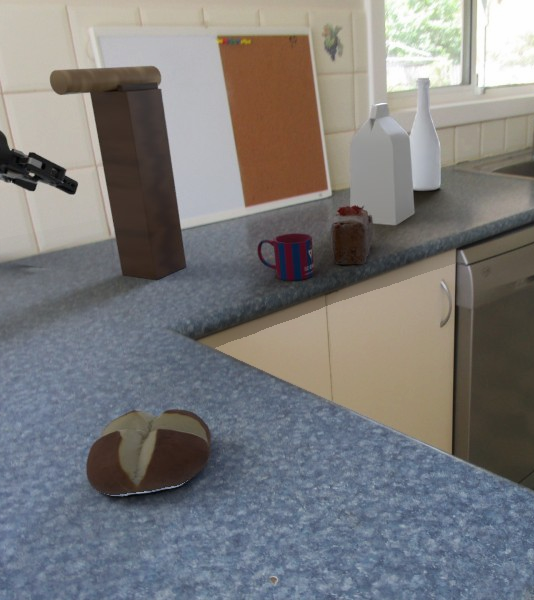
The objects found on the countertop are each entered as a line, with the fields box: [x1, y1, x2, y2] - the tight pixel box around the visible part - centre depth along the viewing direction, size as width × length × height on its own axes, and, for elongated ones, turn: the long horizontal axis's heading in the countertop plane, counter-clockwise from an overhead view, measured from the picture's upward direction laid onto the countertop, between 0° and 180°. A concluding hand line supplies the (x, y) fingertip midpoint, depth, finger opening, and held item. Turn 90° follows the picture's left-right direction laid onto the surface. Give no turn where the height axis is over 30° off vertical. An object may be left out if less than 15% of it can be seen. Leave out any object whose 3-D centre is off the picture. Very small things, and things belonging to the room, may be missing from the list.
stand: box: [89, 82, 187, 281], centre depth 117 cm, size 8×8×33 cm
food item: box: [330, 205, 374, 266], centre depth 128 cm, size 14×8×10 cm, turn 1°
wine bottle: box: [408, 77, 442, 192], centre depth 185 cm, size 10×10×30 cm
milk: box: [349, 102, 415, 226], centre depth 153 cm, size 12×12×26 cm
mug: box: [257, 232, 315, 282], centre depth 118 cm, size 7×10×7 cm
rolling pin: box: [49, 65, 162, 96], centre depth 109 cm, size 20×4×4 cm, turn 156°
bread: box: [85, 408, 212, 495], centre depth 64 cm, size 11×11×5 cm
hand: (54, 187), depth 104 cm, fingers open, 8 cm apart
